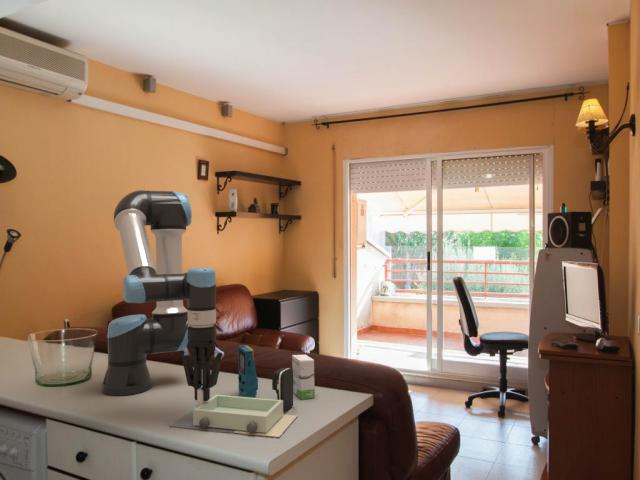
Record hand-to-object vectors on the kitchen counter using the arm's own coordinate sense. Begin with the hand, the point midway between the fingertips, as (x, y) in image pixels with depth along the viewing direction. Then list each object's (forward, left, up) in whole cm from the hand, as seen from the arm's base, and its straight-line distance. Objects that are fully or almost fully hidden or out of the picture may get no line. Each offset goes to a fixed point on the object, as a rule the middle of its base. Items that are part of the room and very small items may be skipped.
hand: (202, 412), depth 137 cm
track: (+9, 0, -2) cm, 10 cm away
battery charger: (+18, +13, -2) cm, 23 cm away
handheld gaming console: (+4, +21, -2) cm, 21 cm away
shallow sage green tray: (+11, 0, -2) cm, 11 cm away
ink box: (+20, +27, -2) cm, 34 cm away
